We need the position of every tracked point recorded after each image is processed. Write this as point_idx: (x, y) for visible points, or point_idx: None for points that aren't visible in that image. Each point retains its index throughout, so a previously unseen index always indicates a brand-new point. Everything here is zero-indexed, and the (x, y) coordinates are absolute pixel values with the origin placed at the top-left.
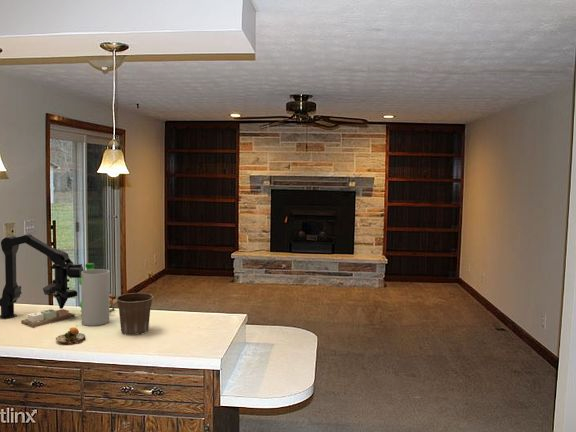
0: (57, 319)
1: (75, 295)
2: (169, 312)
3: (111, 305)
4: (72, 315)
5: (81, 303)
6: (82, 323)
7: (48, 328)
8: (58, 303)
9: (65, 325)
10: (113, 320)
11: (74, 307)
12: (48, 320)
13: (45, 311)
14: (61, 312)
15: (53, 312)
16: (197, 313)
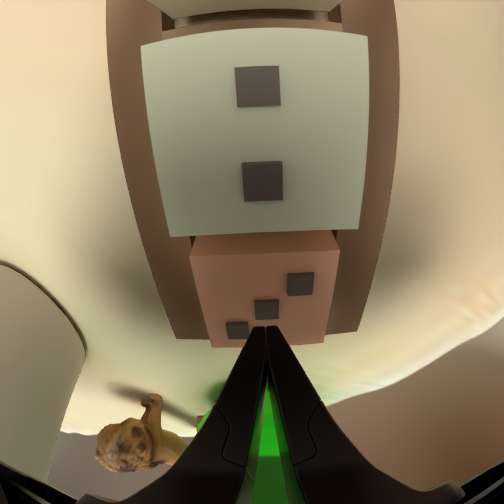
0: (131, 173)
1: (27, 483)
2: (92, 431)
3: (188, 444)
4: (171, 320)
5: (266, 434)
6: (3, 266)
7: (19, 45)
8: (295, 384)
9: (17, 177)
10: None
11: (390, 379)
12: (115, 63)
13: (267, 69)
14: (196, 282)
15: (164, 179)
16: (69, 430)
